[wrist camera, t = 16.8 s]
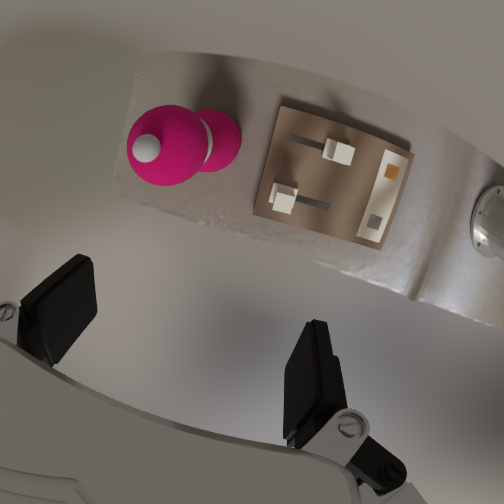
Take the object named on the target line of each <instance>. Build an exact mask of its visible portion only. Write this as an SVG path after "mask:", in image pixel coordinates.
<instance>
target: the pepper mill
mask: <svg viewBox="0 0 504 504" xmlns="http://www.w3.org/2000/svg"><path fill="white" fill-rule="evenodd" d="M240 146H241V133H240V130H239V128H238V126H237V125H236V123H235V121H234V120H233V119H232V118H231V117H230V116H228V115H227V114H225V113H223V112H221V111H217V110H201V111H197V112H195V113H193V112H192V111H191V110H189V109H187V108H184V107H181V106H177V105H165V106H159V107H156V108H153V109H151V110H149V111H147V112H146V113H144V114H143V115H142V116H141V117H140V118H139V119H138V120H137V121H136V122H135V123H134V125H133V127H132V128H131V130H130V133H129V136H128V140H127V155H128V159H129V162H130V165H131V167H132V169H133V170H134V172H135V173H136V174H137V175H138V176H139V177H141V178H142V179H143V180H144V181H147V182H149V183H151V184H154V185H159V186H171V185H176V184H179V183H182V182H184V181H186V180H188V179H190V178H191V177H192V176H193V175H195V174H196V173H197V172H198V171H199V172H214V171H218V170H221V169H223V168H225V167H226V166H228V165H229V164H230V163H231V162H232V161H233V160H234V159H235V157H236V156H237V154H238V151H239V149H240Z"/></svg>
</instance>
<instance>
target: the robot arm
mask: <svg viewBox="0 0 504 504" xmlns="http://www.w3.org/2000/svg"><path fill="white" fill-rule="evenodd" d="M471 239H472V243H473V246H474V248H475V249H476V250H477V252H478V253H480V254H481V255H482V256H484V257H488V258H491V257H495V256H498V257H499V258H500V259H501V260H503V261H504V186H501V185H494V186H491V187H489V188H488V189H487V190H486V191H485V192H483V194H482V195H481V196H480V198H479V200H478V202H477V203H476V206H475V208H474V211H473V215H472V219H471ZM20 302H21V306H20V307H18V305H17V304H16V303H15V302H12V301H4V302H1V303H0V504H427V503H426V501H424V499H423V498H422V496H421V495H420V494H419V492H418V491H417V489H416V488H415V487H414V485H413V484H412V483H411V482H410V483H407V482H406V477H407V471H406V467H405V466H404V464H403V463H402V462H401V461H400V460H399V459H398V458H397V457H395V456H394V455H392V454H391V453H390V452H388V450H386V449H385V448H384V447H382V446H381V445H380V444H379V443H377V442H376V441H375V440H374V439H372V438H371V437H370V436H369V435H368V434H369V430H370V426H369V422H368V420H367V419H366V417H365V416H364V415H363V414H362V413H361V412H359V411H357V410H354V409H348V407H347V401H346V395H345V389H344V383H343V378H342V372H341V367H340V362H339V358H338V357H337V356H335V355H333V351H332V346H331V341H330V335H329V330H328V325H327V322H324V321H319V320H315V319H313V320H312V321H311V322H307V323H306V325H305V327H304V329H303V331H302V333H301V335H300V338H299V340H298V342H297V344H296V346H295V348H294V350H293V352H292V354H291V356H290V358H289V360H288V362H287V364H286V367H285V373H284V374H285V375H284V376H285V378H284V419H283V438H284V439H287V446H288V447H285V446H279V445H274V444H269V443H263V442H256V441H251V440H246V439H241V438H236V437H232V436H227V435H223V434H219V433H214V432H210V431H206V430H202V429H198V428H194V427H191V426H187V425H184V424H181V423H178V422H174V421H171V420H168V419H165V418H162V417H159V416H156V415H153V414H151V413H148V412H145V411H142V410H140V409H137V408H135V407H131V406H129V405H127V404H124V403H122V402H120V401H117V400H115V399H113V398H110V397H108V396H106V395H104V394H101V393H100V392H97V391H95V390H93V389H91V388H89V387H87V386H85V385H83V384H81V383H79V382H77V381H75V380H73V379H71V378H69V377H68V376H66V375H64V374H62V373H61V372H59V371H57V370H55V369H54V368H52V367H53V365H54V364H57V363H59V361H60V360H61V359H62V357H63V356H64V355H65V353H66V352H67V351H68V350H69V348H70V347H71V346H72V344H73V343H74V342H75V341H76V339H77V338H78V337H79V336H80V334H81V333H82V332H83V331H84V329H85V328H86V327H87V326H88V325H89V323H90V322H91V321H92V320H93V319H94V317H95V316H96V314H97V302H96V292H95V283H94V268H93V262H92V261H91V259H90V258H89V257H87V256H84V255H82V254H77V255H75V256H74V257H73V258H71V259H70V260H69V261H68V262H66V263H65V264H64V265H62V266H61V267H60V268H59V269H57V270H56V271H55V272H54V273H52V274H51V275H50V276H49V277H47V278H46V279H45V280H44V281H43V282H41V283H40V284H39V285H38V286H37V287H35V288H34V289H33V290H32V291H31V292H30V293H28V294H27V295H26V296H25V297H24V298H23V299H22V300H21V301H20ZM291 447H295V448H291Z"/></svg>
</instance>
